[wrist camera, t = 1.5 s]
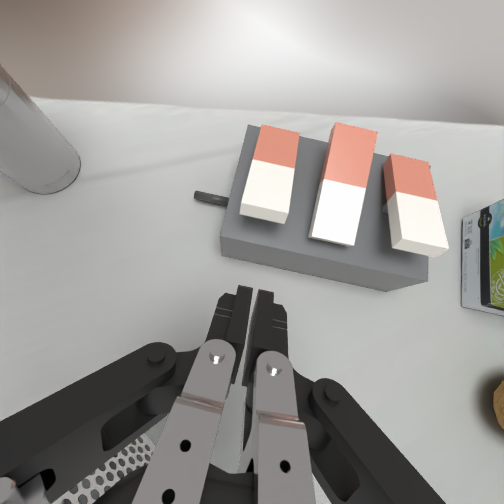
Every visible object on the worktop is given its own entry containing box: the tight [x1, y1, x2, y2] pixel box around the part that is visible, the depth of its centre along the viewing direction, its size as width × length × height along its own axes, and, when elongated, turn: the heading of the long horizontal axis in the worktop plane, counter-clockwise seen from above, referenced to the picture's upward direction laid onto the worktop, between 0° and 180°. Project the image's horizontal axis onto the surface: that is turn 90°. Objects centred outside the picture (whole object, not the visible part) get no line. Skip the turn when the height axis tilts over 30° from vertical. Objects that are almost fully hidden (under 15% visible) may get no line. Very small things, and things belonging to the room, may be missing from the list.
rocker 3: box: [383, 154, 449, 258], centre depth 31 cm, size 5×13×2 cm, turn 168°
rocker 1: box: [240, 125, 300, 224], centre depth 31 cm, size 5×13×2 cm, turn 168°
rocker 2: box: [308, 122, 378, 246], centre depth 31 cm, size 5×13×2 cm, turn 168°
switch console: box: [194, 125, 430, 292], centre depth 38 cm, size 31×16×11 cm, turn 78°
